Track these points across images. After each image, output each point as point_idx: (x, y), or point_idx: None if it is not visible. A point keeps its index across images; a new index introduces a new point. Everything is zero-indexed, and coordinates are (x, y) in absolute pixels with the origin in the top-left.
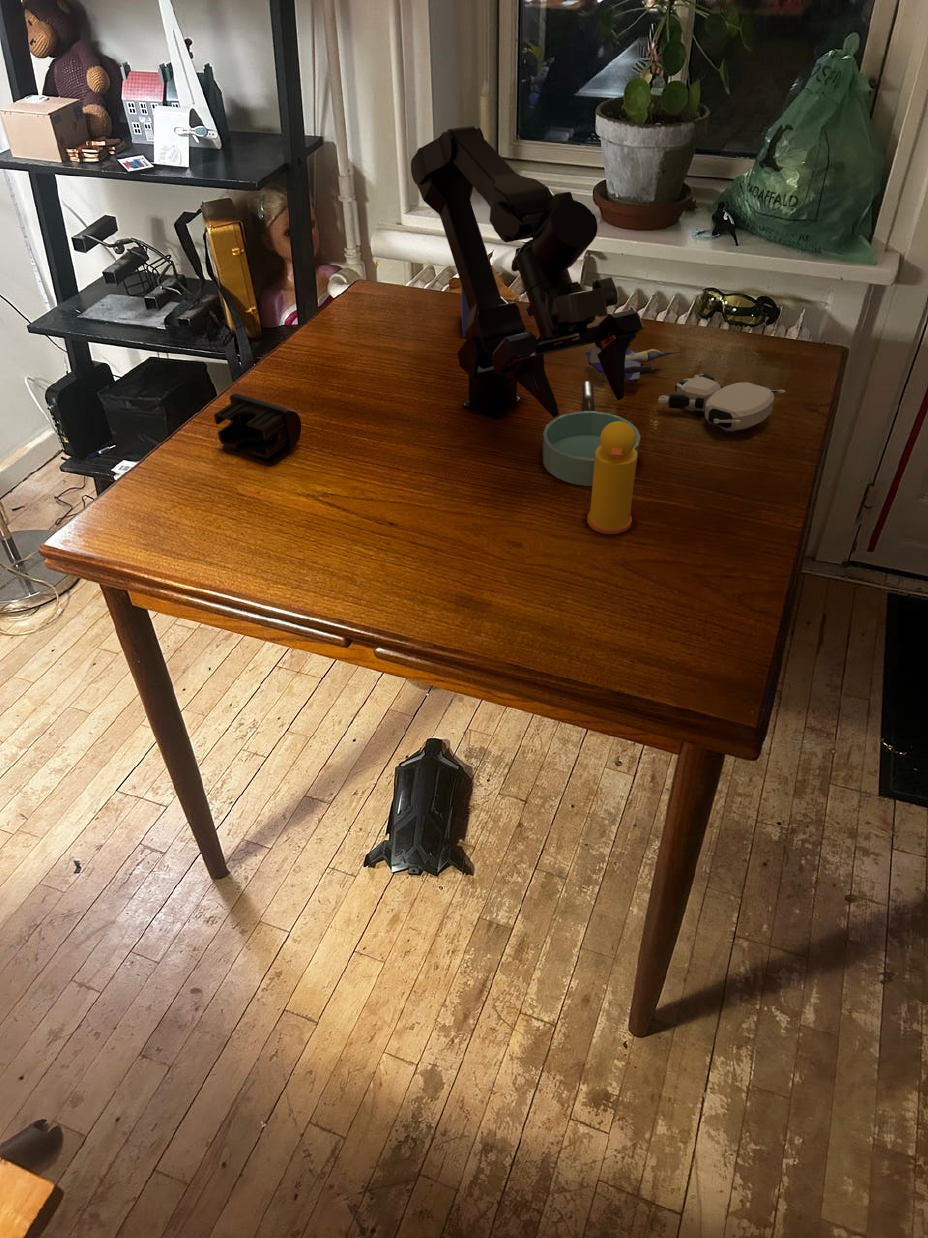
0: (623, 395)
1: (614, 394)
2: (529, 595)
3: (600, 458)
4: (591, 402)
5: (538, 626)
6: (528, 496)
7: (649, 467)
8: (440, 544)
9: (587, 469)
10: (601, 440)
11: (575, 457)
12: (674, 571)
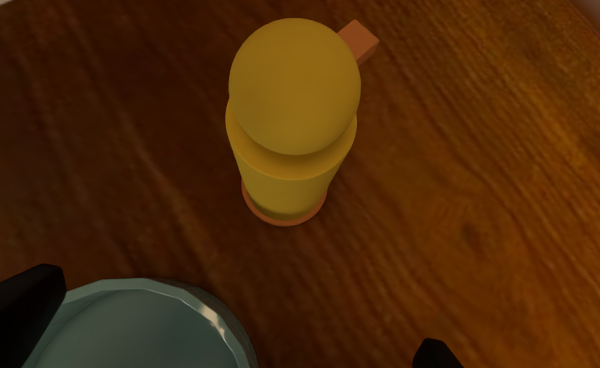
0: (39, 265)
1: (43, 333)
2: (518, 120)
3: (353, 124)
4: None
5: (539, 64)
6: (361, 360)
7: None
8: (596, 327)
9: (226, 316)
10: (356, 110)
11: (239, 354)
12: None
